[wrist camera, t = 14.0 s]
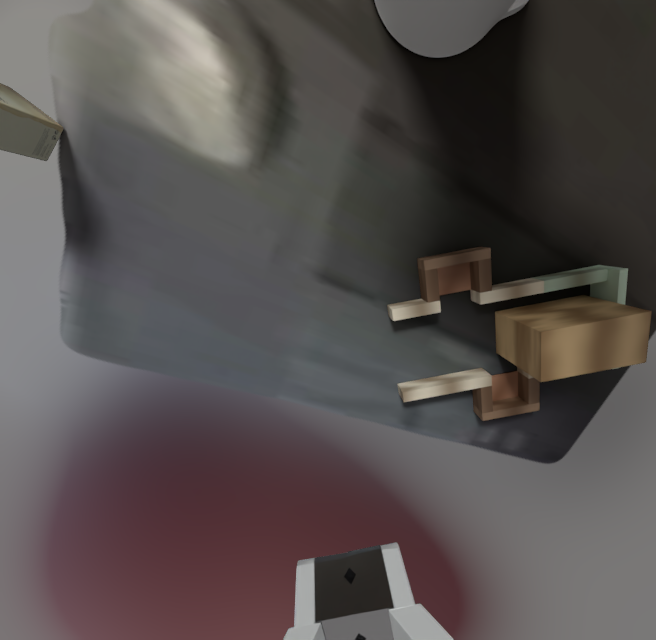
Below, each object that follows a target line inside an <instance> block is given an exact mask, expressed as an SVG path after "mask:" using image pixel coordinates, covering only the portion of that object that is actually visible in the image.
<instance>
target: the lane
mask: <svg viewBox="0 0 656 640" xmlns="http://www.w3.org/2000/svg"><path fill="white" fill-rule="evenodd" d="M417 262H418V272H419V282H420V292H421V299H416V300H411V301H406V302H400V303H395V304H390V305H387V308H388V315H389V317H390V318H391V319H392V320H393V321H397V320H402V319H408V318H413V317H418V316H424V315H429V314H434V313H439V312H441V306H440V295H445V294H450V293H455V292H461V291H466V290H470V293H471V301H473V302H476V303H478V304H480V305H482V304H487V303H492V302H498V301H503V300H508V299H513V298H519V297H524V296H529V295H535V294H540V293H545V292H550V291H556V290H561V289H566V288H571V287H577V286H582V285H587V284H593V283H598V282H603V281H607V279H608V269H606V268H599V267H585V268H580V269H575V270H570V271H564V272H559V273H554V274H548V275H543V276H538V277H533V278H527V279H522V280H517V281H511V282H506V283H501V284H496V285H492V274H491V248H486V247H476V248H471V249H466V250H460V251H455V252H450V253H444V254H439V255H434V256H428V257H423V258H418V259H417ZM466 390H473V407H474V412H475V413H476V414H477V415H478V416H479V418H480V419H481V420H482V421H486V420H491V419H496V418H501V417H507V416H512V415H517V414H522V413H528V412H533V411H538V410H539V394H540V381H538V380H537V379H535V378H534V377H532V376H531V375H529V374H528V373H526V372H525V371H523V370H522V369H520V368H519V367H517V371H513V372H508V373H502V374H497V375H492V376H491V375H490V374H489V373H488V372H486V371H485V370H484V369H483V368H478V369H473V370H467V371H462V372H457V373H452V374H446V375H441V376H436V377H430V378H425V379H420V380H415V381H409V382H404V383H399V384H398V391H399V394H400V396H401V398H402V400H403V402H409V401H414V400H419V399H424V398H430V397H435V396H440V395H445V394H451V393H456V392H461V391H466Z"/></svg>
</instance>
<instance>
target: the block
mask: <svg viewBox="0 0 656 640" xmlns="http://www.w3.org/2000/svg"><path fill="white" fill-rule="evenodd" d="M650 321H651V311H648V310H644V309H640V308H636V307H632V306H627V305H623V304H619V303H615V302H611V301H607V300H602V299H598V298H594V297H590V296H586V295H580V296H575V297H569V298H564V299H559V300H554V301H548V302H543V303H538V304H532V305H527V306H522V307H517V308H511V309H506V310H501V311H495V327H496V353H497V354H499V355H500V356H502V357H503V358H505V359H506V360H508V361H510V362H511V363H513V364H514V365H516V366H517V367H519V368H520V369H522V370H523V371H525V372H526V373H528V374H529V375H531V376H532V377H534V378H535V379H537V380H538V381H540V382H545V381H551V380H556V379H561V378H566V377H572V376H577V375H582V374H587V373H593V372H598V371H603V370H608V369H614V368H619V367H624V366H629V365H634V364H640V363H645V362H646V358H647V349H648V348H647V347H648V340H649V330H650Z"/></svg>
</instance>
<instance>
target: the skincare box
mask: <svg viewBox="0 0 656 640" xmlns="http://www.w3.org/2000/svg"><path fill="white" fill-rule="evenodd" d="M62 131H63V127H62V126H61V125H59V124H58V123H57V122H55V121H54V120H53V119H51V118H50V117H49V116H47V115H46V114H45V113H44V112H42V111H41V110H40V109H38V108H37V107H36V106H34V105H33V104H32V103H30V102H29V101H28V100H26V99H25V98H24V97H22V96H21V95H19V94H18V93H17V92H15V91H14V90H13V89H11V88H10V87H8V86H5V85H3V84H1V83H0V150H4V151H8V152H12V153H16V154H20V155H24V156H28V157H32V158H36V159H40V160H44V161H47V160H48V158H49V156H50V154H51V153H52V151H53V149H54V147H55V145H56V143H57V141H58V139H59V137H60V135H61V133H62Z"/></svg>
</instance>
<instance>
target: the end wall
mask: <svg viewBox="0 0 656 640" xmlns="http://www.w3.org/2000/svg"><path fill="white" fill-rule="evenodd" d="M591 267H599V268H606V269H608V279H607V281H603V282H598V283H593V284H590V297H594V298H598V299H602V300H607V301H611V302H615V303H619V304H623V305H625V300H626V288H627V276H628V268H620V267H612V266H604V265H596V266H591ZM619 368H620V367H619ZM614 369H617V368H614Z"/></svg>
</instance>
